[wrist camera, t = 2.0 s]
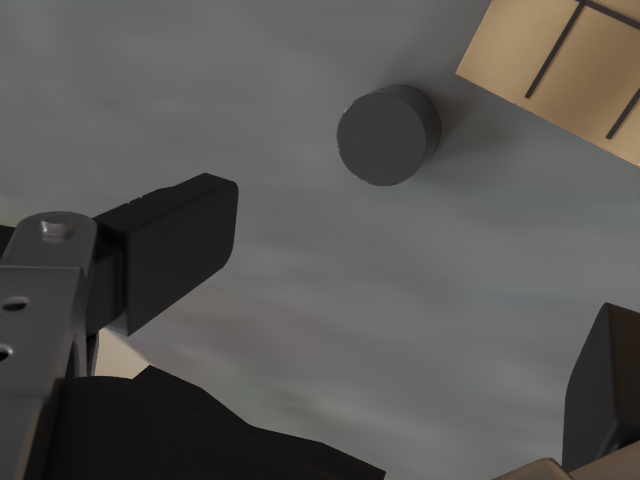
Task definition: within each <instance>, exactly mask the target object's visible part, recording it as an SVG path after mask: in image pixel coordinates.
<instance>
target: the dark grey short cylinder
mask: <svg viewBox="0 0 640 480" xmlns="http://www.w3.org/2000/svg"><path fill="white" fill-rule="evenodd" d="M440 135H441V123H440V118H439V114H438V112H437V109H436V108H435V106H434V104H433V103H432V101H431V100H430V99H429V98H428V97H427V96H426V95H425V94H423V93H422V92H421V91H419V90H417V89H415V88H413V87H410V86H406V85H391V86H387V87H384V88H381V89H379V90H377V91H374V92H372V93H369V94H367V95H365V96H362V97H360V98H359V99H357V100H355V101H354V102H353V103H352V104H350V106H349V107H348V108H347V109H346V110H345V112H344V113H343V115H342V117H341V119H340V122H339V125H338V130H337V145H338V150H339V153H340V156H341V158H342V160H343V162H344V164H345V165H346V167H347V168H348V169H349V170H350V171H351V172H352V173H353V174H354V175H355V176H356V177H358V178H359V179H361V180H362V181H364V182H366V183H369V184H372V185H377V186H391V185H396V184H398V183H401V182H403V181H405V180H407V179H408V178H410V177H411V176H412V175H413V174H414V173H415V172H416V171H417V170H418V169H419V168H420V167H421V166H422V165H423V164H424V163H425V162H426V161H427V160H428V159H429V158H430V157H431V156H432V155H433V153H434V152H435V150H436V148H437V146H438V143H439V140H440Z"/></svg>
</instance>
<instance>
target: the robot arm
mask: <svg viewBox="0 0 640 480" xmlns="http://www.w3.org/2000/svg"><path fill="white" fill-rule="evenodd" d="M237 204H238V186H237V184H236V183H235V182H233V181H230V180H227V179H224V178H221V177H217V176H214V175H211V174H208V173H203V174H200V175H198V176H196V177H194V178H191V179H189V180H187V181H185V182H183V183H180V184H178V185H176V186H173V187H167V188H161V189H157V190H155V191H153V192H151V193H148V194H146V195H144V196H142V198H140V197H139V198H137V199H135V200H132V201H130V202H129V204H127V203H125V204H123V205H121V206H119V207H116V208H114V209H112V210H109V211H107V212H105V213H103V214H100V215H98V216H96V217H93V218H89V217H87V216H85V215H82V214H78V213H73V212H64V211H55V212H45V213H39V214H35V215H32V216H29V217H27V218H25V219H23V220H22V221H20V222H19V223H18V225H17V226H16V228H14V227H8V226H2V225H0V480H384V477H385V474H386V471H383V470H381V469H379V468H377V467H375V466H372V465H370V464H368V463H366V462H363V461H361V460H359V459H357V458H355V457H352V456H350V455H348V454H346V453H344V452H341V451H339V450H337V449H335V448H333V447H330V446H328V445H326V444H324V443H321V442H317V441H313V440H308V439H304V438H300V437H295V436H291V435H287V434H283V433H278V432H274V431H270V430H265V429H261V428H257V427H254V426H251V425H249V424H248V423H246V422H245V421H243V420H242V419H241V418H240V417H238V416H237V415H236V414H234V413H233V412H232V411H231V410H229V409H228V408H227V407H225V406H224V405H223V404H221V403H220V402H219V401H218V400H216V399H215V398H214V397H212V396H211V395H210V394H209V393H207V392H206V391H205V390H203V389H202V388H200V387H198V386H196V385H193V384H191V383H189V382H187V381H185V380H182V379H180V378H178V377H176V376H173V375H171V374H169V373H167V372H165V371H162V370H160V369H158V368H156V367H154V366H151V365H149V366H148V367H147V368H145V369H144V370H143V371H142V372H140V373H139V374H138V375H137V376H136V377H134V378H133V379H128V378H121V377H111V376H94V374H95V367H96V360H97V353H98V347H99V330H100V329H102V328H103V327H107V328H109V329H111V330H114V331H116V332H118V333H120V334H123V335H125V336H127V337H129V336H130V335H131V334H133V333H134V332H135V331H137V330H138V329H140V328H141V327H142V326H144V325H145V324H146V323H148V322H149V321H150V320H152V319H153V318H155V317H156V316H157V315H159V314H160V313H161V312H163V311H164V310H165V309H167V308H168V307H170V306H171V305H172V304H174V303H175V302H176V301H178V300H179V299H180V298H182V297H183V296H185V295H186V294H187V293H189V292H190V291H191V290H193V289H194V288H196V287H197V286H198V285H200V284H201V283H202V282H204V281H205V280H206V279H208V278H209V277H211V276H212V275H213V274H215V273H216V272H217V271H219V270H220V269H221V268H223V266H224V265H225V264H226V263H227V261H228V259H229V257H230V255H231V252H232V249H233V243H234V234H235V224H236V214H237ZM492 480H640V313H638V312H635V311H632V310H629V309H626V308H623V307H619V306H616V305H613V304H610V303H607V302H606V303H604V304H603V306H602V307H601V309H600V311H599V313H598V315H597V317H596V319H595V322H594V324H593V326H592V328H591V331H590V333H589V335H588V337H587V340H586V342H585V344H584V346H583V348H582V351H581V353H580V355H579V357H578V360H577V362H576V364H575V366H574V369H573V371H572V374H571V377H570V380H569V383H568V387H567V391H566V397H565V414H564V433H563V451H562V467H561V466H560V465H559V464H558V463H557V462H556V461H555V460H554V459H552V458H542V459H539V460H536V461H534V462H532V463H529V464H527V465H525V466H522V467H520V468H518V469H515V470H513V471H511V472H508V473H506V474H504V475H501V476H499V477H496V478H494V479H492Z"/></svg>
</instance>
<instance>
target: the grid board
mask: <svg viewBox="0 0 640 480" xmlns="http://www.w3.org/2000/svg"><path fill="white" fill-rule="evenodd" d="M456 75H458V76H460V77H462V78H464V79H466V80H468V81H470V82H472V83H474V84H476V85H478V86H480V87H482V88H484V89H486V90H488V91H490V92H492V93H494V94H496V95H498V96H500V97H502V98H504V99H506V100H508V101H510V102H512V103H514V104H515V105H517V106H519V107H521V108H523V109H525V110H527V111H529V112H531V113H533V114H535V115H537V116H539V117H541V118H543V119H545V120H547V121H549V122H551V123H553V124H555V125H557V126H559V127H561V128H563V129H565V130H567V131H569V132H571V133H573V134H575V135H577V136H579V137H581V138H583V139H585V140H587V141H589V142H591V143H593V144H595V145H597V146H599V147H601V148H603V149H605V150H607V151H609V152H611V153H613V154H615V155H617V156H619V157H621V158H622V159H624V160H626V161H628V162H630V163H632V164H634V165H636V166H638V167H640V0H492V2H491V4H490V6H489V8H488V10H487V12H486V14H485V16H484V18H483V20H482V22H481V23H480V25H479V27H478V29H477V31H476V33H475V35H474V37H473V39H472V41H471V43H470V45H469V47H468V49H467V51H466V53H465V55H464V57H463V59H462V61H461V63H460V65H459V67H458V69H457V70H456Z"/></svg>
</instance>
